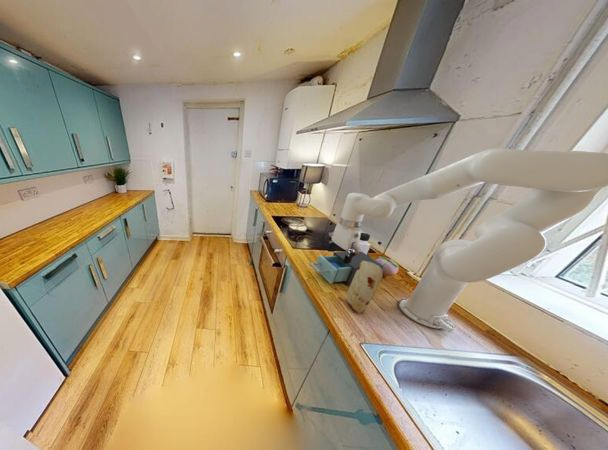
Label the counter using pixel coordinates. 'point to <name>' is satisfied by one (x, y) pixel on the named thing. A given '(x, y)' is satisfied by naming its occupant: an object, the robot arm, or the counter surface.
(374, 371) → the counter surface
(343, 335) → the counter surface
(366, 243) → the medicine bottle
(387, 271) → the decorative fruit
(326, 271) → the teal drawer
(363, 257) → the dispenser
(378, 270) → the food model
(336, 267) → the blue cube
